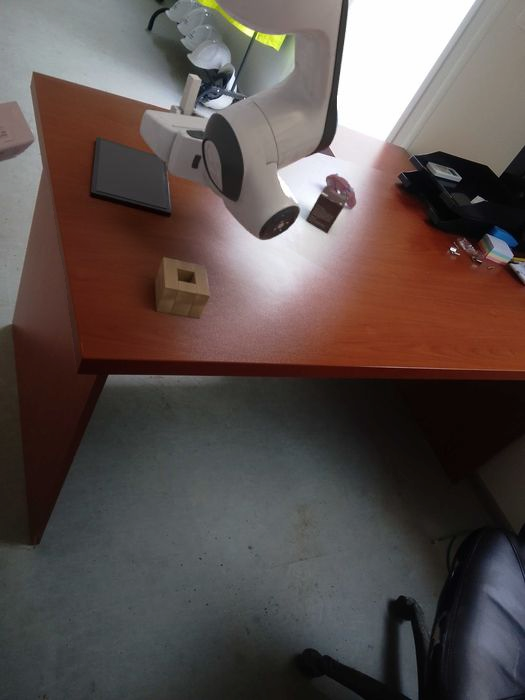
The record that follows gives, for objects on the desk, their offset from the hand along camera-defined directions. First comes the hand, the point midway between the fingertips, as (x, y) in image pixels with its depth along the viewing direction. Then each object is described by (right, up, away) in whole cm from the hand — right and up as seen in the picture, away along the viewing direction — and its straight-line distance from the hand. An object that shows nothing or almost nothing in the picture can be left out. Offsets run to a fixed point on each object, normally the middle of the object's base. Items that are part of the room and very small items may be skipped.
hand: (181, 111), depth 76 cm
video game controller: (+33, +1, +46) cm, 57 cm away
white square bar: (-3, -6, +6) cm, 9 cm away
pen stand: (0, -32, -5) cm, 32 cm away
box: (+27, -9, +33) cm, 44 cm away
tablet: (-12, -7, +12) cm, 18 cm away
